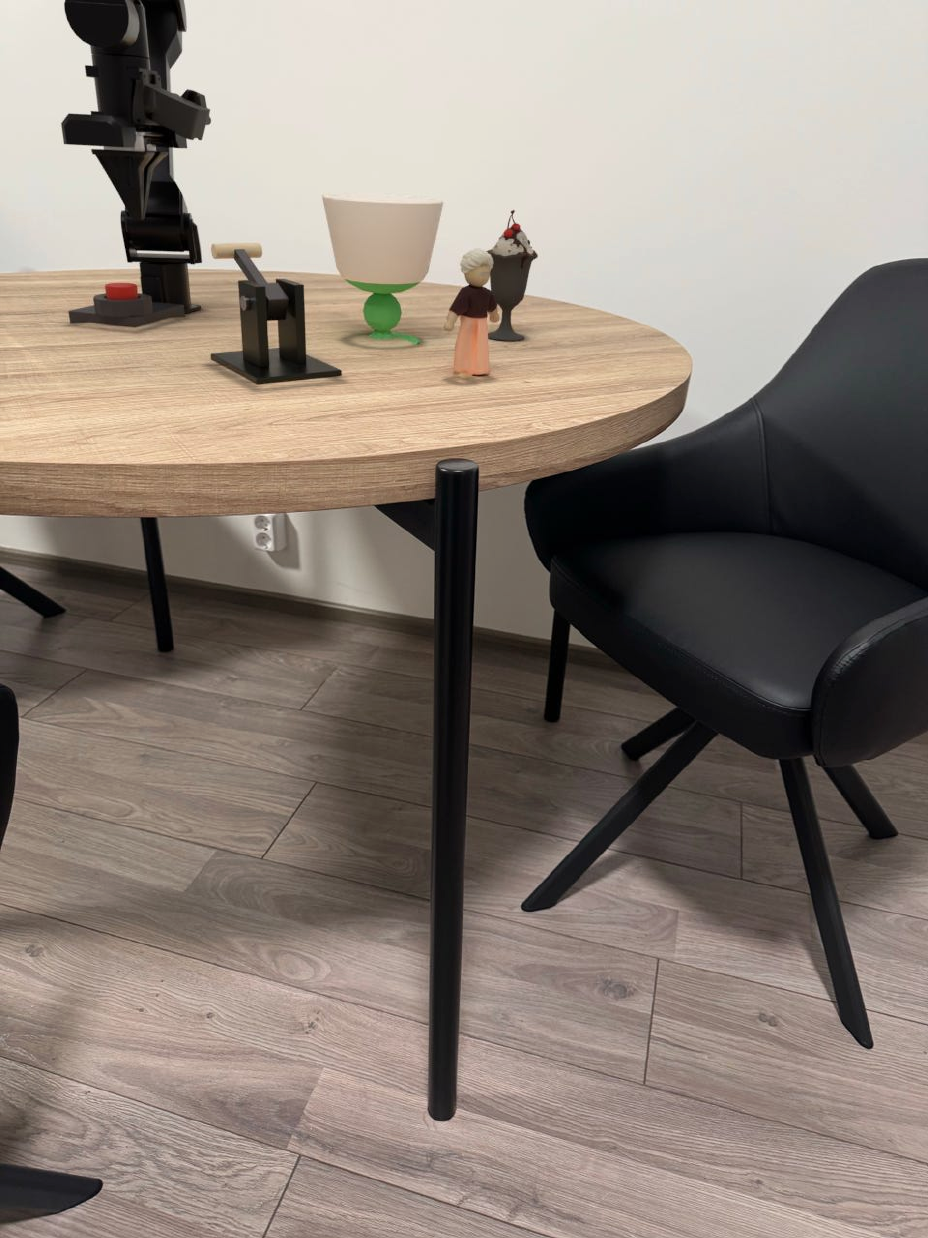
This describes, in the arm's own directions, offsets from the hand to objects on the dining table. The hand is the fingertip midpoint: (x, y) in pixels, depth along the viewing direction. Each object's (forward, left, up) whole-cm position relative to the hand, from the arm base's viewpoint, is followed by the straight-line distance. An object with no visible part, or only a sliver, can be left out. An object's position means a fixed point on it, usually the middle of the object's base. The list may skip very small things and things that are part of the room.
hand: (138, 219), depth 102 cm
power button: (-2, -5, -9) cm, 11 cm away
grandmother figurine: (+5, +41, -13) cm, 43 cm away
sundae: (-19, +39, -13) cm, 45 cm away
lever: (+9, +18, -5) cm, 21 cm away
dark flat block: (-5, -6, -12) cm, 15 cm away
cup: (-9, +26, -13) cm, 30 cm away
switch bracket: (+12, +22, -12) cm, 28 cm away
